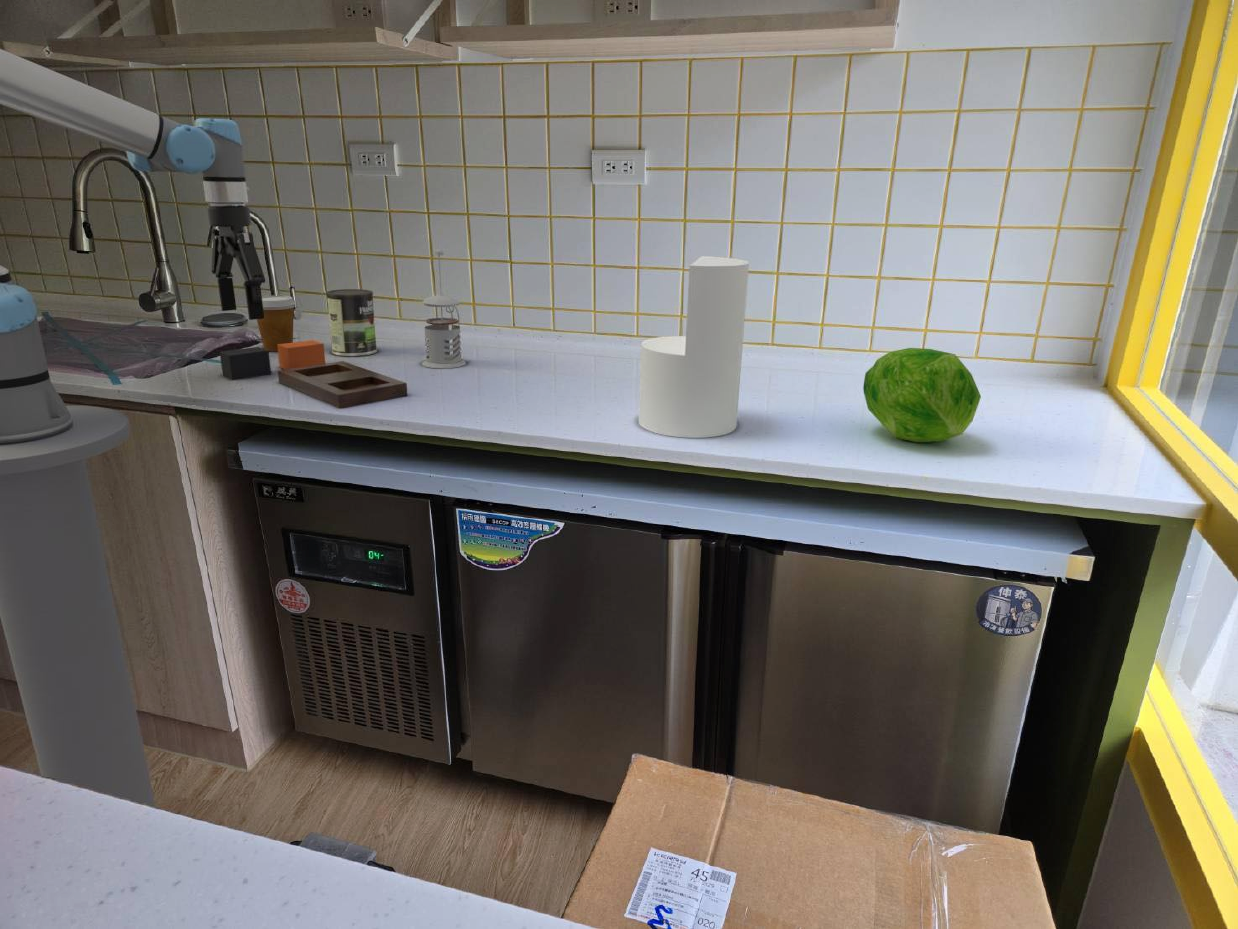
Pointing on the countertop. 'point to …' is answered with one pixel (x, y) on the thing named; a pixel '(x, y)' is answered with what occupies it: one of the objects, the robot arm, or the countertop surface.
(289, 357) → the orange block
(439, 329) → the french press
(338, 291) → the coffee can
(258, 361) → the black rectangular block
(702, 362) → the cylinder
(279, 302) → the disposable coffee cup
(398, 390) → the brown wooden slotted tray
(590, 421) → the countertop surface
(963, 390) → the lettuce
